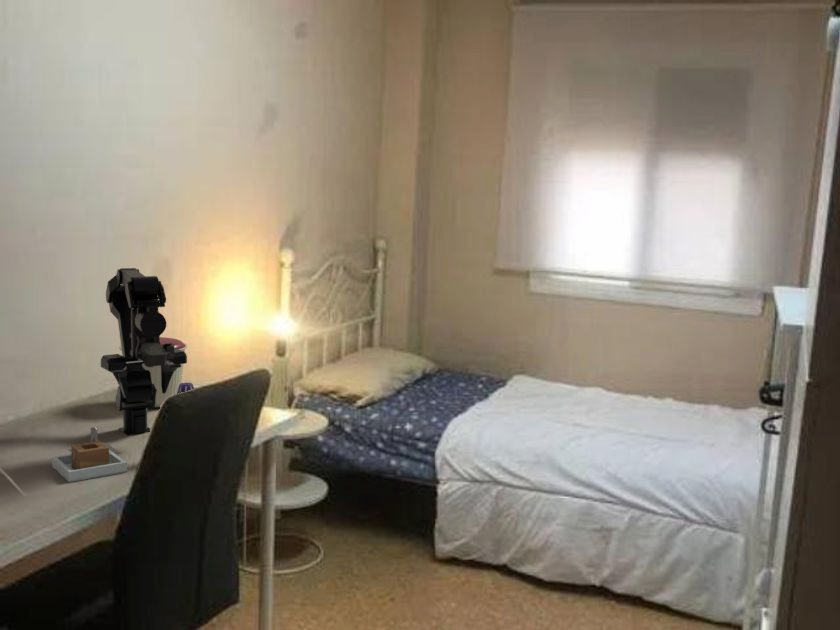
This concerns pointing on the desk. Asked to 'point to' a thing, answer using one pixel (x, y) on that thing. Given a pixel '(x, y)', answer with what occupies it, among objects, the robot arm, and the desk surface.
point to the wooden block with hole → (89, 455)
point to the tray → (65, 468)
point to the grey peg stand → (94, 439)
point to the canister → (156, 373)
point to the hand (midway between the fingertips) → (145, 395)
